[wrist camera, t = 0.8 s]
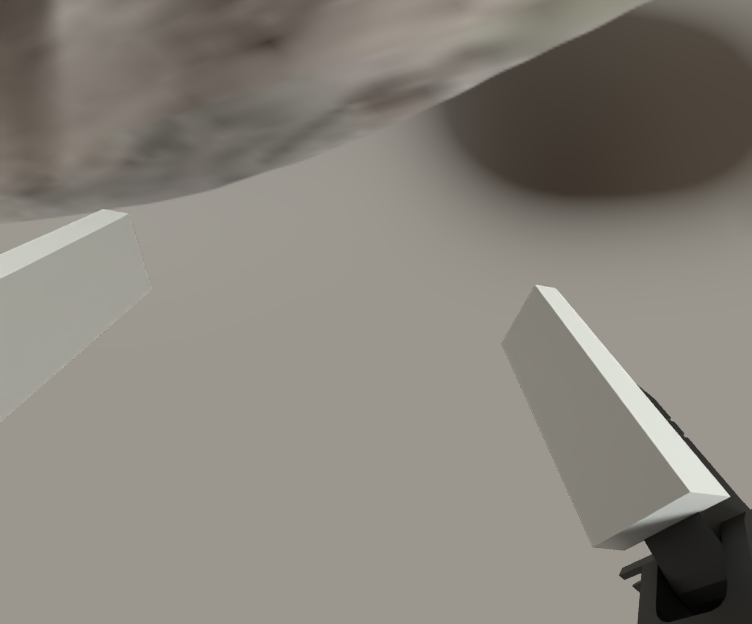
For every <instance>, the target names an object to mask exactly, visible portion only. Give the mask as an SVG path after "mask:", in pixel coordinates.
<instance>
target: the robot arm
mask: <svg viewBox="0 0 752 624" xmlns="http://www.w3.org/2000/svg"><path fill="white" fill-rule="evenodd" d="M151 290H152V287H151V283H150V280H149V277H148V274H147V270H146V267H145V263H144V260H143V257H142V254H141V250H140V247H139V244H138V240H137V237H136V234H135V231H134V227H133V224H132V221H131V217H130V214H129V213H123V212H117V211H112V210H106V209H101V210H99V211H97V212H95V213H92V214H90V215H88V216H86V217H84V218H81V219H79V220H77V221H74V222H72V223H70V224H67V225H65V226H63V227H61V228H59V229H56V230H54V231H52V232H50V233H47V234H45V235H42V236H40V237H38V238H36V239H33V240H31V241H29V242H27V243H24V244H22V245H20V246H18V247H15V248H13V249H11V250H8V251H6V252H4V253H2V254H0V423H1V422H2V421H3V420H4V419H5V418H6V417H7V416H8V415H10V414H11V413H12V412H13V411H14V410H15V409H16V408H18V407H19V406H20V405H21V404H22V403H23V402H24V401H26V400H27V399H28V398H29V397H30V396H31V395H32V394H34V393H35V391H37V390H38V389H39V388H40V387H42V386H43V385H44V384H45V383H46V382H47V381H48V380H49V379H51V378H52V377H53V376H54V375H55V374H56V373H57V372H59V371H60V370H61V369H62V368H63V367H64V366H65V365H66V364H68V363H69V362H70V361H71V360H72V359H73V358H74V357H75V356H77V355H78V354H79V353H80V352H81V351H82V350H83V349H85V348H86V347H87V346H88V345H89V344H90V343H92V342H93V341H94V340H95V339H96V338H97V337H98V336H100V335H101V334H102V333H103V332H104V331H105V330H106V329H107V328H109V327H110V326H111V325H112V324H113V323H114V322H115V321H117V320H118V319H119V318H120V317H121V316H122V315H123V314H125V313H126V312H127V311H128V310H129V309H130V308H131V307H132V306H134V305H135V304H136V303H137V302H138V301H139V300H140V299H142V298H143V297H144V296H145V295H146V294H147V293H148V292H149V291H151ZM501 344H502V346H503V349H504V351H505V353H506V355H507V358H508V360H509V362H510V364H511V367H512V369H513V371H514V373H515V375H516V378H517V380H518V382H519V384H520V387H521V389H522V391H523V393H524V395H525V398H526V400H527V402H528V404H529V407H530V409H531V411H532V413H533V416H534V418H535V420H536V422H537V424H538V427H539V429H540V431H541V433H542V435H543V438H544V440H545V442H546V445H547V447H548V449H549V451H550V453H551V456H552V458H553V460H554V462H555V465H556V467H557V469H558V471H559V473H560V476H561V478H562V480H563V482H564V485H565V487H566V489H567V491H568V494H569V496H570V498H571V500H572V502H573V505H574V507H575V509H576V511H577V514H578V516H579V518H580V520H581V523H582V525H583V527H584V529H585V531H586V534H587V536H588V538H589V540H590V543H591V544H592V547H594V548H604V549H614V550H626V549H628V548H630V547H632V546H634V545H636V544H638V543H640V542H642V541H645V542H646V544H647V546H648V548H649V549H650V551H651V553H652V555H650V556H647V557H645V558H643V559H641V560H639V561H636V562H634V563H632V564H630V565H628V566H626V567H624V568H622V570H621V572H620V575H619V576H620V577H622V578H623V579H624V580H626V579H628V578H630V577H633V576H635V575H637V574H640V573H641V574H642V575H641V581H638V582H637V583H635V584H633V587H634V588H635V589H636V590H637V591H639V592H640V599H639V612H638V624H752V509H751V510H750V509H749V508H748V507H747V506H746V504H745V503H744V502H743V501H742V500H741V499H740V498H739V497H738V496H737V494H736V493H735V492H734V491H733V490H732V489H731V487H730V486H729V485H728V484H727V483H726V482H725V480H724V479H723V478H722V477H721V476H720V475H719V473H718V472H717V471H716V470H715V469H714V468H713V466H712V465H711V464H710V463H709V462H708V461H707V459H706V458H705V457H704V456H703V455H702V454H701V452H700V451H699V450H698V449H697V448H696V447H695V445H694V444H693V443H692V442H691V441H690V440H689V439H688V438H686V437H684V433H683V431H682V430H681V429H680V428H679V427H678V426H677V424H676V423H675V422H673V421H671V420H670V418H671V417H670V416H669V415H668V414H667V413H666V412H665V410H663V408H662V407H661V406H660V405H659V403H658V402H657V401H656V400H655V399H654V398H653V397H652V396H650V395H649V394H648V393H647V392H645V391H644V390H643V389H642V388H641V387H639V386H638V385H637V384H636V383H635V382H634V381H633V380H632V379H631V377H630V376H629V375H628V374H627V373H626V371H625V370H624V369H623V368H622V367H621V365H620V364H619V363H618V362H617V361H616V360H615V358H614V357H613V356H612V355H611V354H610V352H609V351H608V350H607V349H606V348H605V346H604V345H603V344H602V343H601V342H600V341H599V339H598V338H597V337H596V336H595V334H594V333H593V332H592V331H591V330H590V328H589V327H588V326H587V325H586V324H585V323H584V321H583V320H582V319H581V318H580V317H579V316H578V314H577V313H576V312H575V311H574V309H573V308H572V307H571V306H570V305H569V304H568V302H567V301H566V300H565V299H564V297H563V296H562V295H561V294H560V293H559V291H558V290H557V289H556V288H551V287H545V286H540V285H534V287H533V289H532V291H531V293H530V294H529V296H528V298H527V299H526V301H525V303H524V305H523V306H522V308H521V310H520V312H519V314H518V315H517V317H516V319H515V321H514V322H513V324H512V326H511V327H510V329H509V331H508V332H507V334H506V336H505V338H504V340H503V341H502V343H501Z"/></svg>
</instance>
